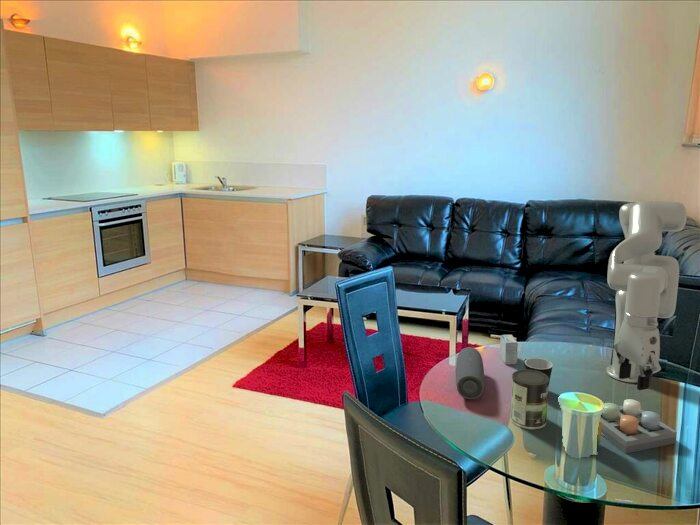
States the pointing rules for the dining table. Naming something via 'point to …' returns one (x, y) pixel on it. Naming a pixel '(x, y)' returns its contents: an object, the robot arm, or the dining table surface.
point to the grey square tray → (637, 435)
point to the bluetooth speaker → (469, 373)
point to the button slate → (650, 420)
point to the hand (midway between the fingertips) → (633, 382)
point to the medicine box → (508, 349)
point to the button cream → (631, 407)
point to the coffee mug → (539, 365)
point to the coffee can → (529, 399)
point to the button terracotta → (629, 424)
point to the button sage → (611, 411)
